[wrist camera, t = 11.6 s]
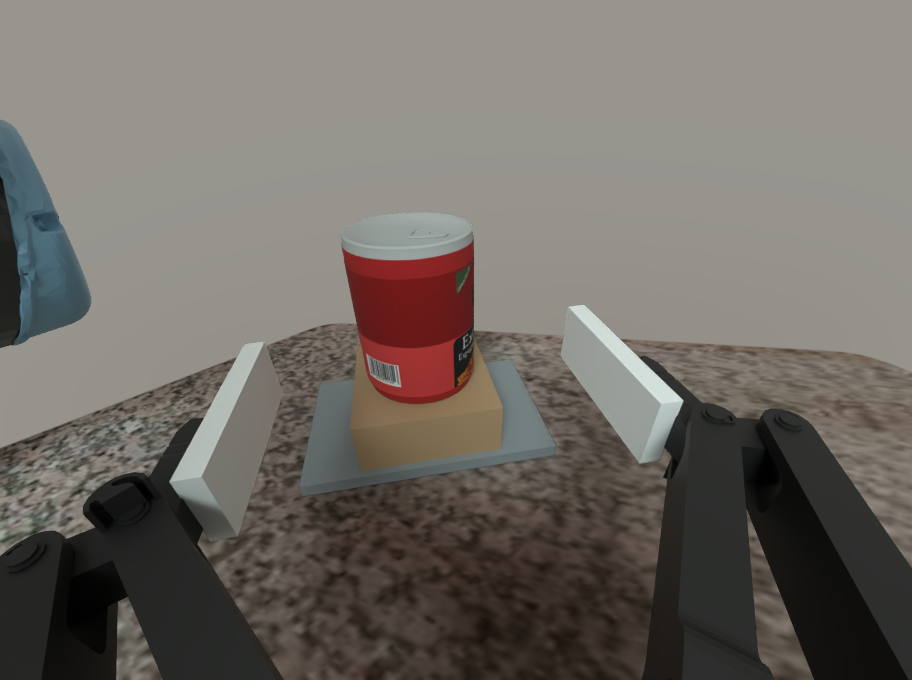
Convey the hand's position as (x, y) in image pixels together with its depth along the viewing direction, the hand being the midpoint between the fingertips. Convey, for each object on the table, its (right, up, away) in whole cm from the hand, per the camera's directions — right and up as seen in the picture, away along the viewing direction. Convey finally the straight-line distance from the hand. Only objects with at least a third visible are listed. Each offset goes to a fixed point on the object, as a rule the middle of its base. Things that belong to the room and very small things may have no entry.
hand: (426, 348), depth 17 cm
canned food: (-1, -2, +12) cm, 12 cm away
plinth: (-1, -6, +15) cm, 16 cm away
